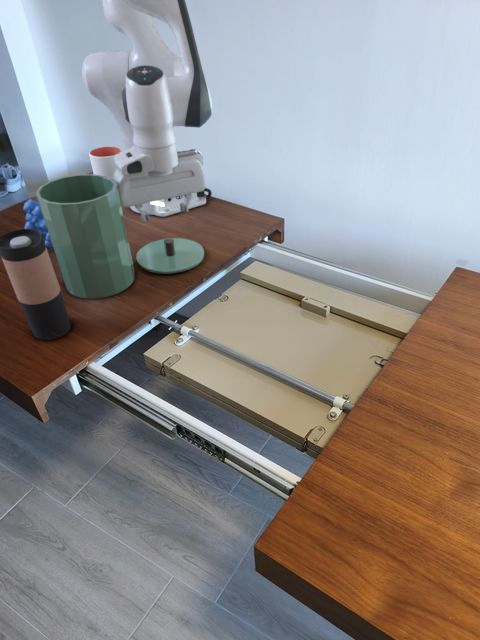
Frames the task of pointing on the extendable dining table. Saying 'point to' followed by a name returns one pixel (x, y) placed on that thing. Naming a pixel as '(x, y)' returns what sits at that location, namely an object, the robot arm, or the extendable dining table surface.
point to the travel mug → (35, 282)
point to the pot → (88, 234)
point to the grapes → (36, 220)
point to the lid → (170, 255)
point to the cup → (104, 161)
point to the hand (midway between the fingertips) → (165, 215)
